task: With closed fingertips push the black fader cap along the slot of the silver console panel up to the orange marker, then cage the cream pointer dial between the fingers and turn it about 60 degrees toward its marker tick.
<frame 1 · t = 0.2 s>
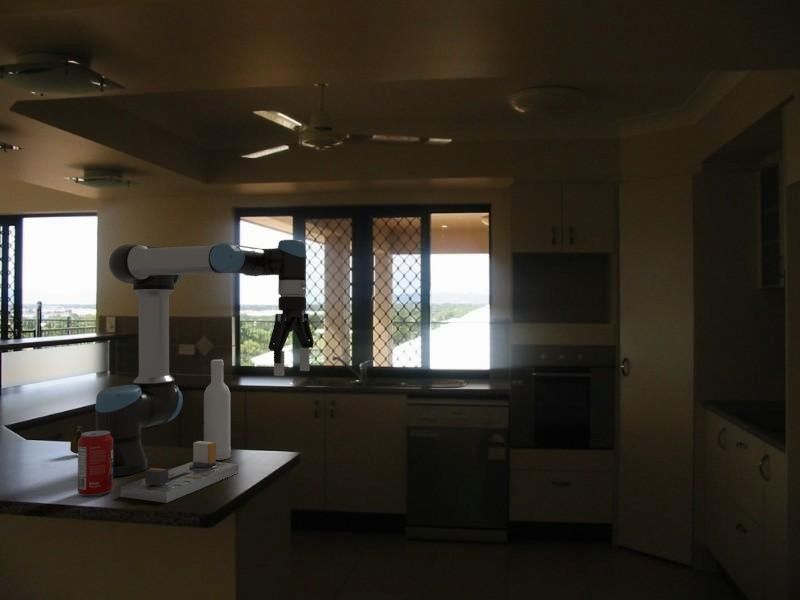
hand: (292, 373, 170), 28 cm above the countertop, fingers open, 13 cm apart
bottle: (217, 458, 189), on the countertop
dial: (204, 453, 168), point 6 cm above the countertop, hinge at 0.0°
fader: (156, 481, 151), point 3 cm above the countertop, slide at -4.5 cm
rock: (76, 456, 193), on the countertop
soda can: (95, 494, 152), on the countertop
console: (183, 484, 160), on the countertop
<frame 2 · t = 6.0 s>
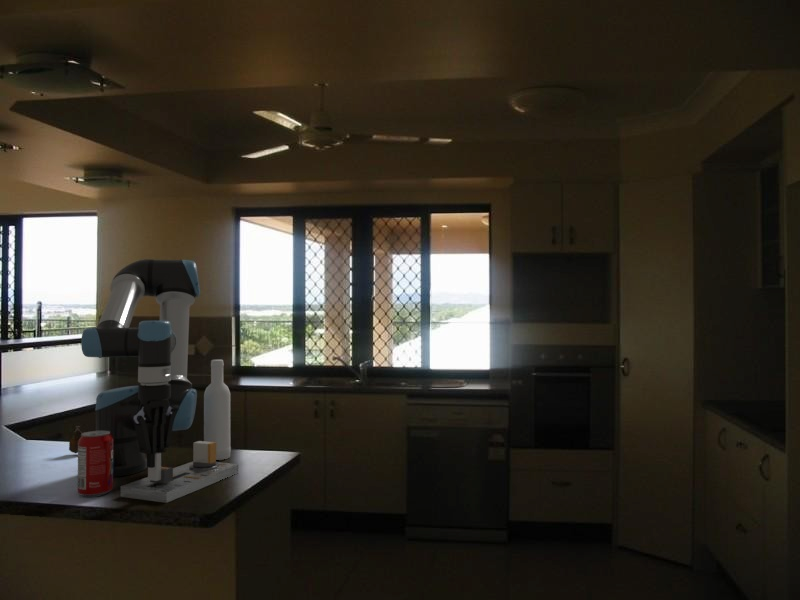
hand: (154, 479, 151), 4 cm above the countertop, fingers closed
fader: (161, 479, 153), point 3 cm above the countertop, slide at -2.9 cm, touching gripper
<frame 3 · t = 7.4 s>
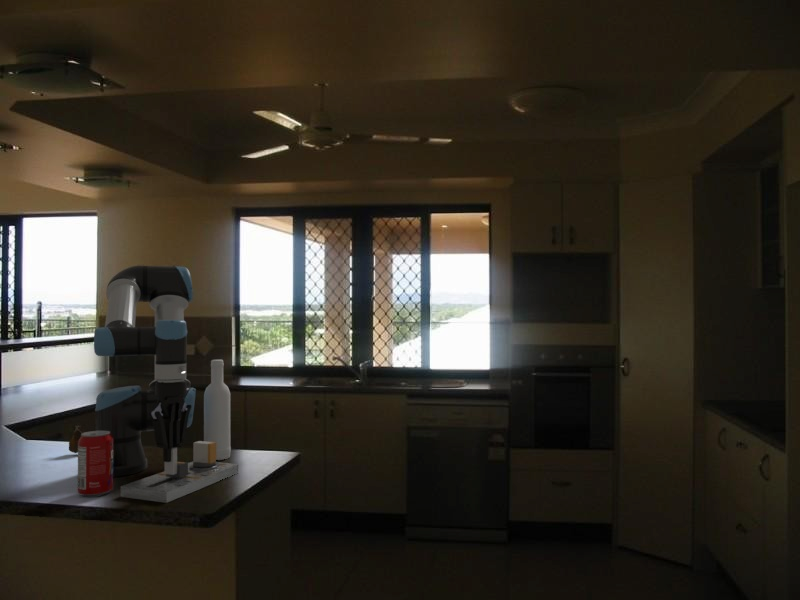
hand: (170, 473, 156), 4 cm above the countertop, fingers closed
fader: (177, 474, 158), point 3 cm above the countertop, slide at 2.7 cm, touching gripper
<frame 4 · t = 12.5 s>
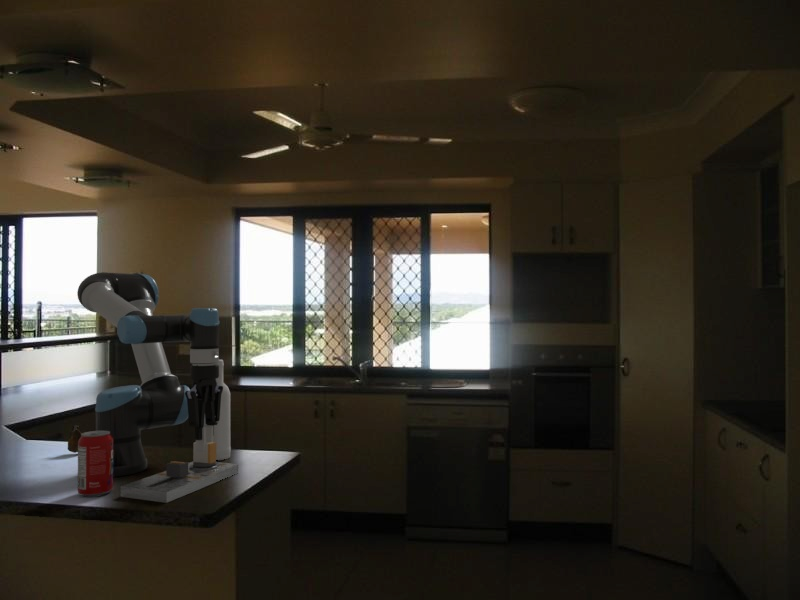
hand: (204, 450, 168), 7 cm above the countertop, fingers closed on dial, 2 cm apart
dial: (204, 453, 168), point 6 cm above the countertop, hinge at 0.0°, touching gripper
fader: (177, 474, 158), point 3 cm above the countertop, slide at 2.8 cm
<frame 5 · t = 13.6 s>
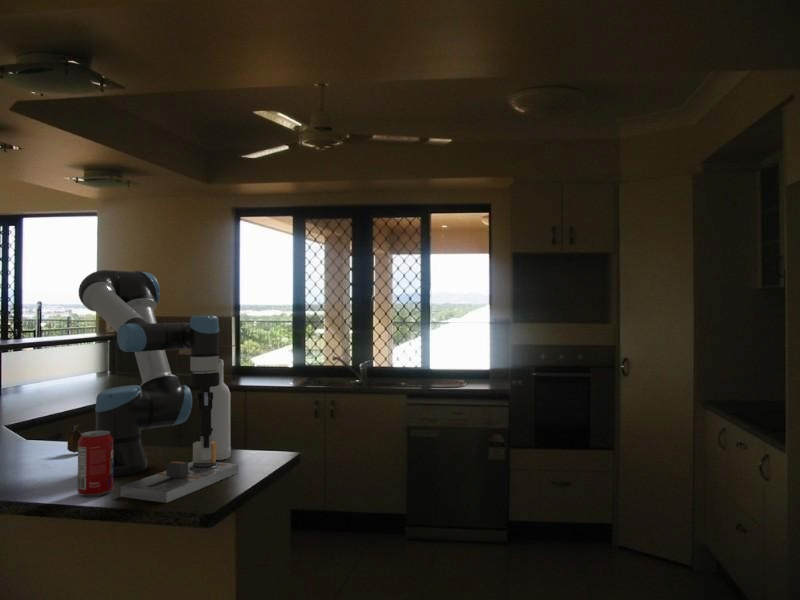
hand: (206, 457, 168), 5 cm above the countertop, fingers closed on dial, 4 cm apart
dial: (204, 453, 168), point 6 cm above the countertop, hinge at 18.2°, touching gripper
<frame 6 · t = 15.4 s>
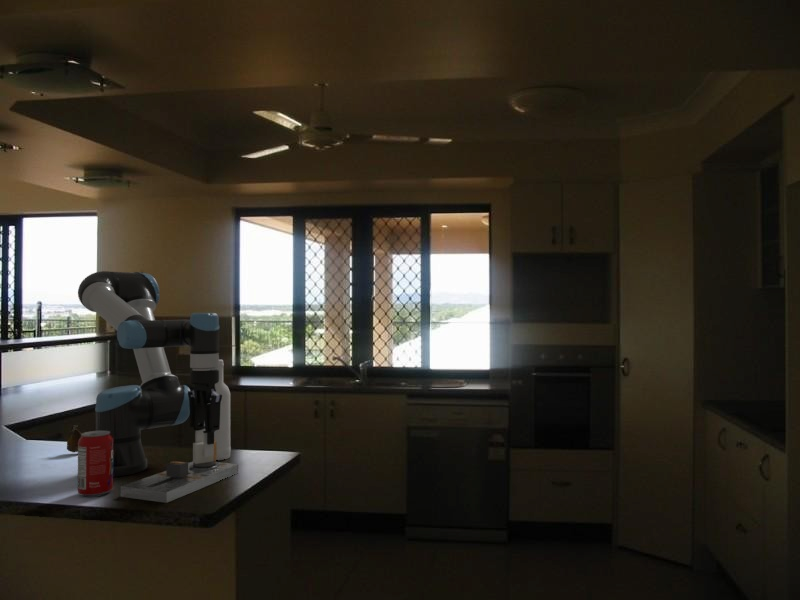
hand: (204, 454, 168), 6 cm above the countertop, fingers closed on dial, 3 cm apart
dial: (204, 453, 168), point 6 cm above the countertop, hinge at 54.5°, touching gripper
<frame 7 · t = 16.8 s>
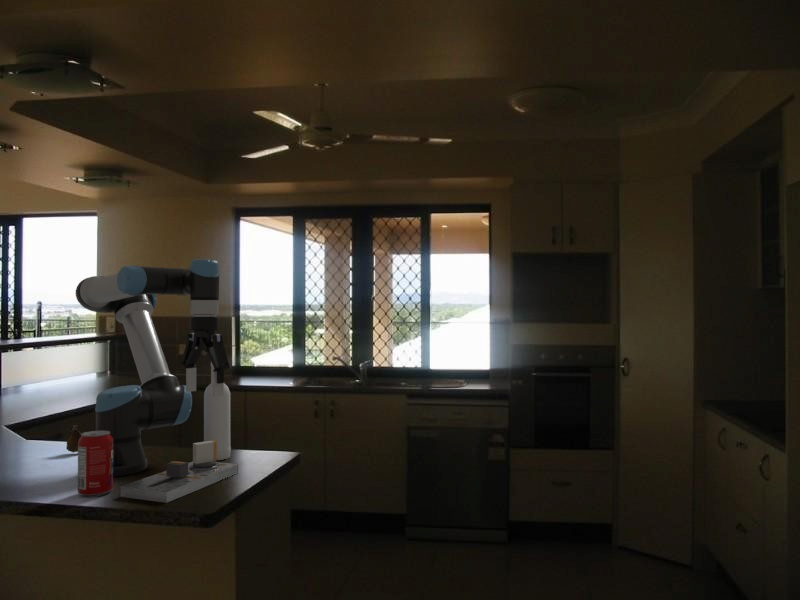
hand: (204, 393, 168), 22 cm above the countertop, fingers open, 13 cm apart
dial: (204, 453, 168), point 6 cm above the countertop, hinge at 61.6°
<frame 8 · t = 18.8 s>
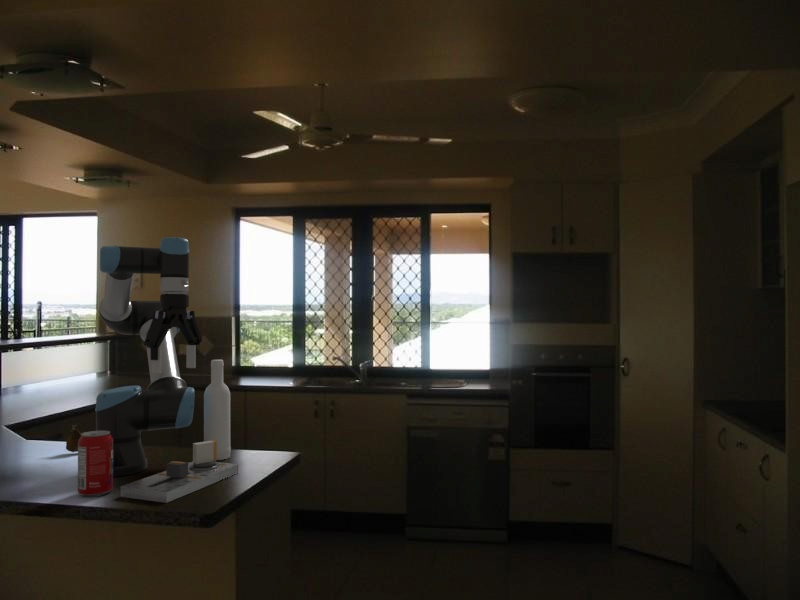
hand: (174, 370, 170), 29 cm above the countertop, fingers open, 13 cm apart
dial: (204, 453, 168), point 6 cm above the countertop, hinge at 62.5°
at the end: fader slide at 2.8 cm; dial at +62° (first picture: +0°); the gripper is holding nothing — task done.
